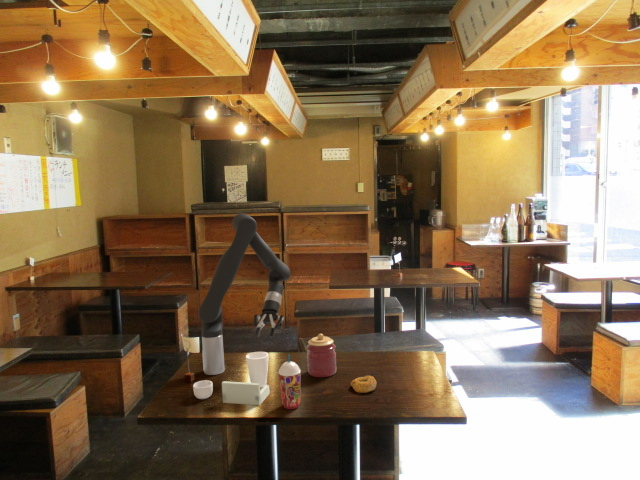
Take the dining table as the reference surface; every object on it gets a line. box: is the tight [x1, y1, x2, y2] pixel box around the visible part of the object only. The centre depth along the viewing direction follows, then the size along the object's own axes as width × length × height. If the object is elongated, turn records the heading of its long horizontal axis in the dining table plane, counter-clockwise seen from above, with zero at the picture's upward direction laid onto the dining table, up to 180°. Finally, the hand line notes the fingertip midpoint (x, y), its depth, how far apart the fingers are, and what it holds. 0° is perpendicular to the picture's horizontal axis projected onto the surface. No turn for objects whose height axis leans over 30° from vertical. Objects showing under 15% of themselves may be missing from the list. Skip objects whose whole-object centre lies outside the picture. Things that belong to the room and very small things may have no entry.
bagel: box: [350, 375, 377, 394], centre depth 198 cm, size 10×11×5 cm
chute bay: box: [221, 380, 271, 406], centre depth 193 cm, size 11×15×8 cm
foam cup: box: [245, 351, 270, 389], centre depth 205 cm, size 10×9×13 cm
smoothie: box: [278, 354, 302, 410], centre depth 183 cm, size 8×8×20 cm
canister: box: [306, 333, 337, 378], centre depth 216 cm, size 13×13×18 cm
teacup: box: [192, 379, 214, 400], centre depth 197 cm, size 10×8×5 cm
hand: (264, 336), depth 213 cm, fingers open, 5 cm apart
